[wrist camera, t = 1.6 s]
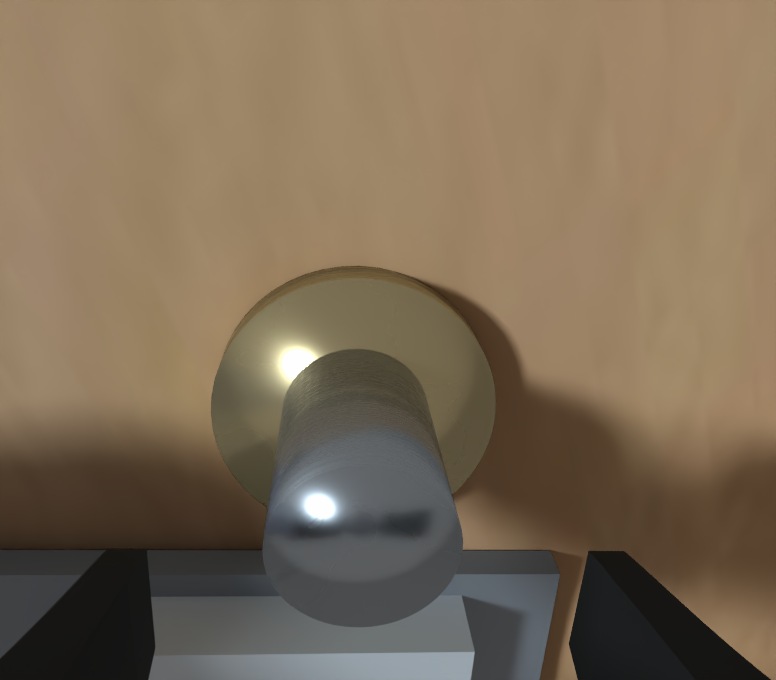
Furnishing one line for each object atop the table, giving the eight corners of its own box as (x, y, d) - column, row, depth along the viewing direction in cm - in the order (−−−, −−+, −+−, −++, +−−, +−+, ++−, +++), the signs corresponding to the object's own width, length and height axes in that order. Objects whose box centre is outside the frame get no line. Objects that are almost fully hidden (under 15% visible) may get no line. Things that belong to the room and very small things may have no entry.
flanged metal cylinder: (222, 503, 19) (175, 695, 13) (214, 259, 16) (149, 370, 11) (471, 505, 20) (527, 689, 14) (501, 270, 17) (585, 379, 11)
